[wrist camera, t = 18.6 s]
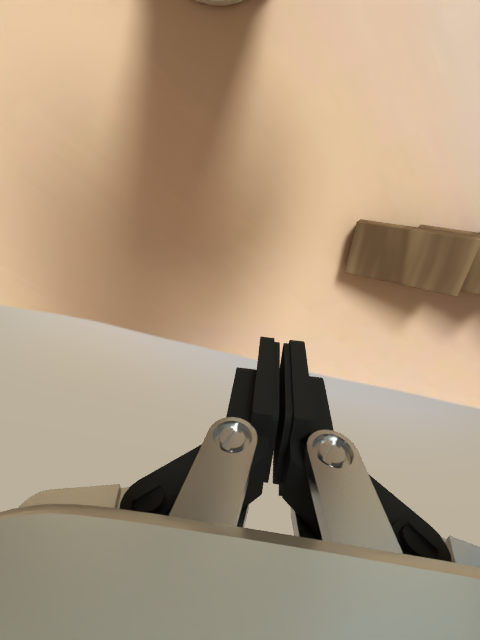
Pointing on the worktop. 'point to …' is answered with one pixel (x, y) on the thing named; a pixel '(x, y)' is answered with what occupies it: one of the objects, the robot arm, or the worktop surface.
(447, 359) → the worktop surface
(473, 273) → the domino
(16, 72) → the worktop surface
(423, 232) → the domino
